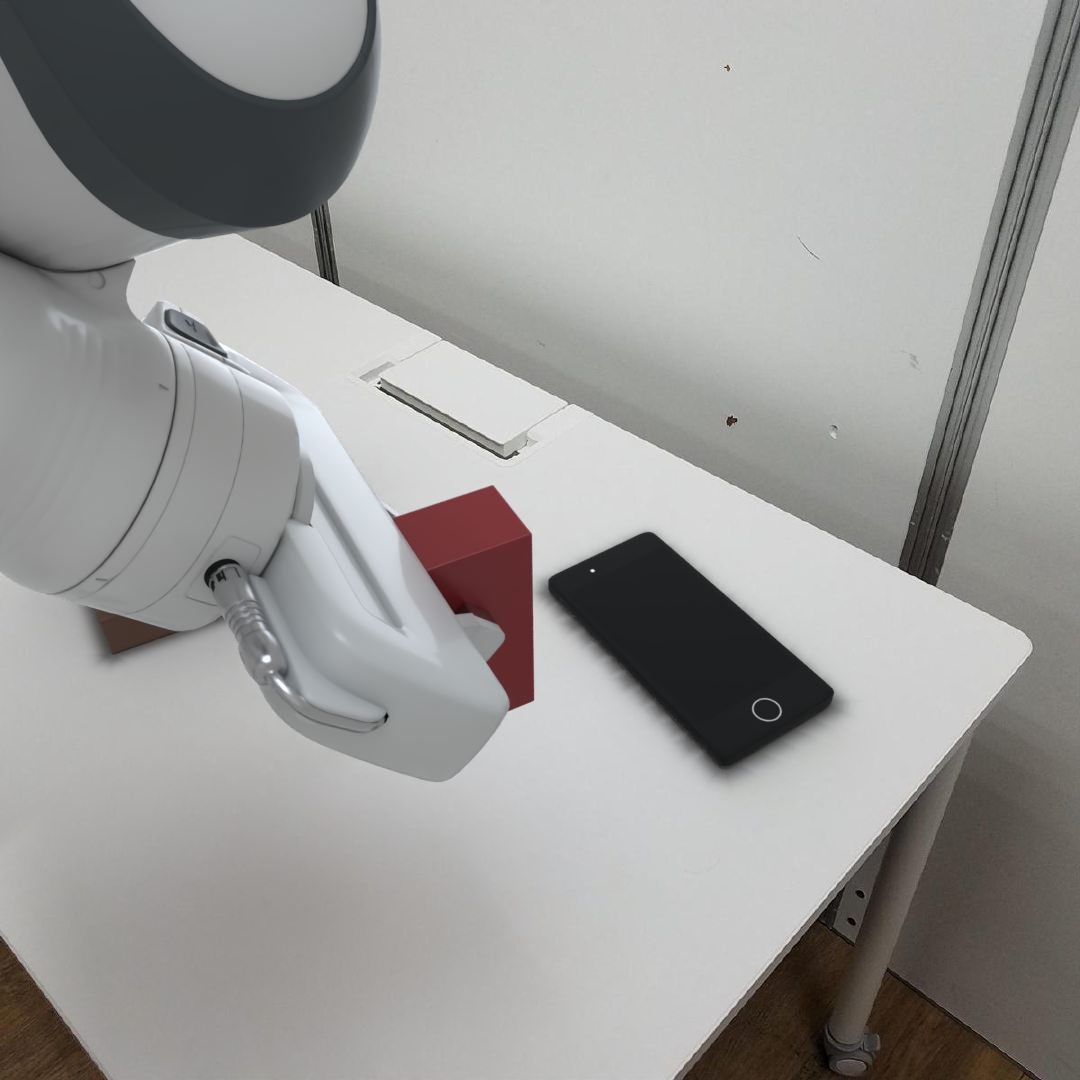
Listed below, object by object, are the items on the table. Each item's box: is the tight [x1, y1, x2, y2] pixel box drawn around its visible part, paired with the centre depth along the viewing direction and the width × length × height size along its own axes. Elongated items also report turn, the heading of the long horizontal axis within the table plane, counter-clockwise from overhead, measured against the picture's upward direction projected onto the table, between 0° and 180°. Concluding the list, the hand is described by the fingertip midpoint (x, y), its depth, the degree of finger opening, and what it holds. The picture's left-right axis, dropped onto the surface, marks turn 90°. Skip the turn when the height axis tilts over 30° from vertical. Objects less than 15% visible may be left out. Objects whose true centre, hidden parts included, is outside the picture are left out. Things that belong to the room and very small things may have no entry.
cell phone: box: [547, 531, 835, 767], centre depth 70 cm, size 9×18×1 cm, turn 34°
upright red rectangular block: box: [392, 484, 535, 712], centre depth 47 cm, size 6×4×10 cm, turn 118°
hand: (462, 601), depth 46 cm, fingers closed on upright red rectangular block, 3 cm apart
